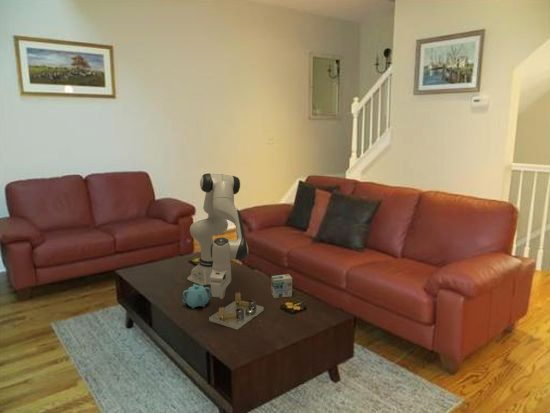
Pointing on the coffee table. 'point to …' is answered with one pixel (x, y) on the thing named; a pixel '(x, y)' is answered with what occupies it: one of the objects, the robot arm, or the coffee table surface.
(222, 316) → the knob
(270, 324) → the coffee table surface
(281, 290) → the light bulb box
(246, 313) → the plate
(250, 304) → the knob
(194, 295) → the teapot
